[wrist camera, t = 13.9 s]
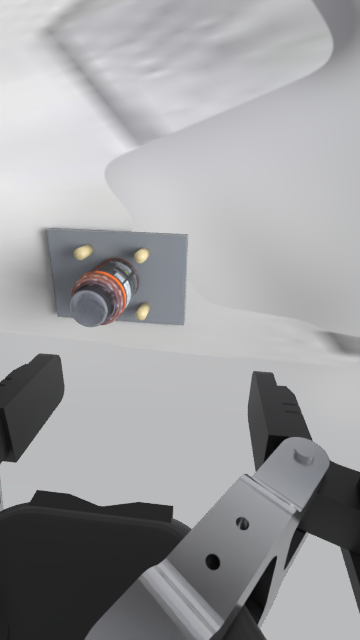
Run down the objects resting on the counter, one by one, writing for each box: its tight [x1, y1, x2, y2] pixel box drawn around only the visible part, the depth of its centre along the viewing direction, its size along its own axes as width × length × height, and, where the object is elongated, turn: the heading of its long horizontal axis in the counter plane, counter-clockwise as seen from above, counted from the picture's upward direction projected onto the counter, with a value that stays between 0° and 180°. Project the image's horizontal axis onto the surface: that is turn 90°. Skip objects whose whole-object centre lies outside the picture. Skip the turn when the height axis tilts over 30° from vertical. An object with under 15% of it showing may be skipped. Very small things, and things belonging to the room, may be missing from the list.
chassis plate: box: [47, 228, 188, 325], centre depth 41 cm, size 12×18×4 cm, turn 88°
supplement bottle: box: [69, 258, 139, 327], centre depth 36 cm, size 6×6×11 cm
